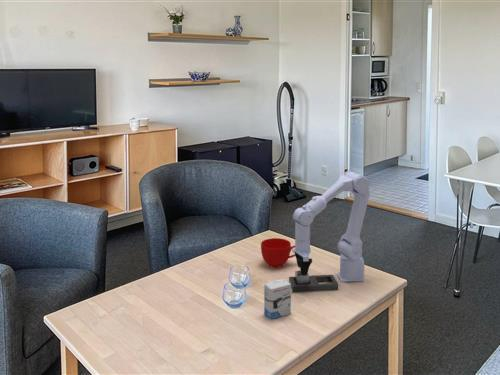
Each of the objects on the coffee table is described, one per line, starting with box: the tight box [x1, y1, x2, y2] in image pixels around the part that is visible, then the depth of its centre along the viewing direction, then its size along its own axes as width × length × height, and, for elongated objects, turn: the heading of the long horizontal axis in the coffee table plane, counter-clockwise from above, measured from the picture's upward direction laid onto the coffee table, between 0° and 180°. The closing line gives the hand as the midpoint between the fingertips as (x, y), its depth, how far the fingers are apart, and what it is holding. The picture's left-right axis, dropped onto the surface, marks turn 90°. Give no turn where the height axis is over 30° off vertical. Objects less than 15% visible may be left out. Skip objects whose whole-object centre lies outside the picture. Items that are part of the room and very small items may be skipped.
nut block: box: [294, 270, 310, 285], centre depth 199 cm, size 4×4×6 cm
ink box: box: [263, 278, 292, 320], centre depth 178 cm, size 8×5×12 cm, turn 117°
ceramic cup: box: [260, 237, 296, 269], centre depth 219 cm, size 13×17×10 cm
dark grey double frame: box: [288, 274, 339, 293], centre depth 200 cm, size 18×9×2 cm, turn 95°
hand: (302, 271), depth 198 cm, fingers open, 7 cm apart
